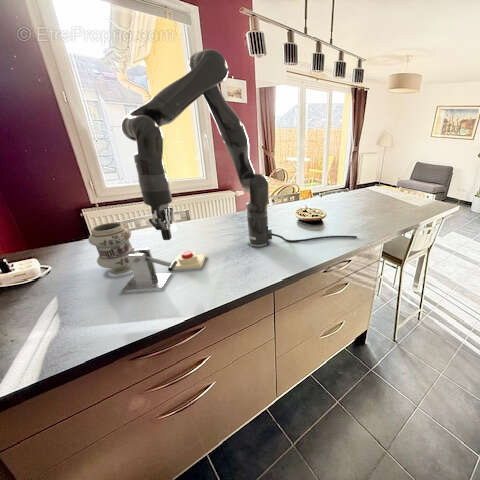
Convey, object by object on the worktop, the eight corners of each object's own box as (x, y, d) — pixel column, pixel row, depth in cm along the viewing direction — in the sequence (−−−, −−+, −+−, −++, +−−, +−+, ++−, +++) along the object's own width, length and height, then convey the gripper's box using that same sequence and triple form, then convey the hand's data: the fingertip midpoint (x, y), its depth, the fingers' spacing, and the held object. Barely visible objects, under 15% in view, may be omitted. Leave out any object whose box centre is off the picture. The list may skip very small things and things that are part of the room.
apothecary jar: (119, 261, 98) (104, 219, 90) (149, 262, 97) (136, 221, 90) (93, 278, 87) (73, 232, 79) (126, 280, 86) (110, 233, 79)
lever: (176, 265, 87) (178, 259, 86) (171, 273, 82) (173, 267, 81) (138, 254, 82) (139, 248, 82) (130, 262, 78) (132, 255, 77)
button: (193, 254, 98) (192, 250, 97) (191, 258, 95) (190, 254, 94) (184, 254, 97) (183, 251, 96) (181, 259, 94) (180, 255, 93)
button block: (206, 258, 102) (204, 250, 101) (201, 269, 94) (199, 260, 93) (178, 260, 100) (176, 251, 99) (170, 271, 92) (168, 262, 91)
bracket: (172, 275, 90) (163, 244, 85) (162, 290, 82) (153, 257, 77) (135, 278, 88) (124, 246, 82) (122, 293, 80) (109, 259, 74)
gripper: (160, 193, 69) (172, 247, 76) (176, 183, 81) (185, 231, 88) (130, 193, 68) (146, 248, 75) (151, 183, 80) (163, 232, 87)
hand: (167, 239), depth 82 cm, fingers closed
